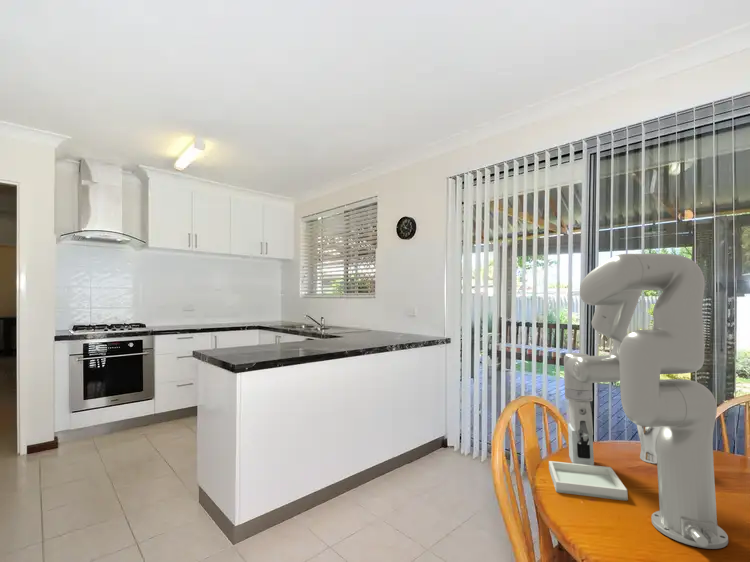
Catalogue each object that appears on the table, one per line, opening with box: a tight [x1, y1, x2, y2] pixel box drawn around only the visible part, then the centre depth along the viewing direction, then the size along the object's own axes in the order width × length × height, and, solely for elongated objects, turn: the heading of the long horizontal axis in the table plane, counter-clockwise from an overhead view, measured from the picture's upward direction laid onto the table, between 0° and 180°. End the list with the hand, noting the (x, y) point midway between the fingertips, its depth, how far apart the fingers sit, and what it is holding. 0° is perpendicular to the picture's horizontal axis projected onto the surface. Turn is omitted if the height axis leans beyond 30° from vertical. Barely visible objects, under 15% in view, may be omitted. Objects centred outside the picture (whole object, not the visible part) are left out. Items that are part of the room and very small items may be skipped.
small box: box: [567, 422, 595, 466], centre depth 118 cm, size 8×6×10 cm
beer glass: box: [636, 424, 660, 465], centre depth 119 cm, size 7×7×15 cm
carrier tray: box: [548, 460, 629, 502], centre depth 104 cm, size 14×16×2 cm
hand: (580, 452), depth 118 cm, fingers closed on small box, 8 cm apart
